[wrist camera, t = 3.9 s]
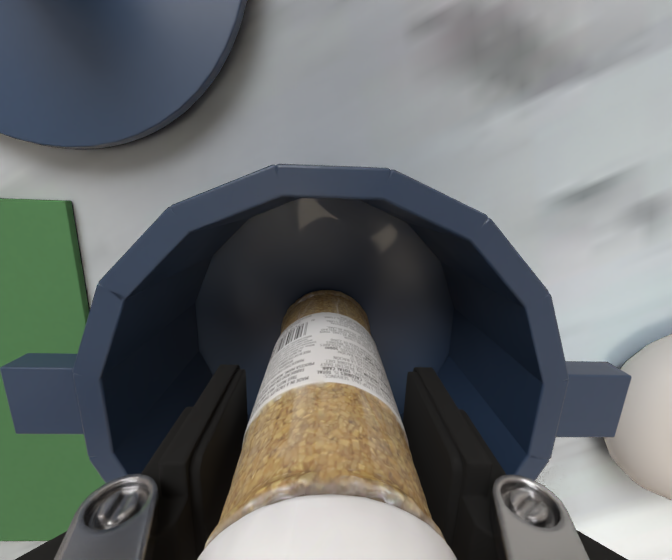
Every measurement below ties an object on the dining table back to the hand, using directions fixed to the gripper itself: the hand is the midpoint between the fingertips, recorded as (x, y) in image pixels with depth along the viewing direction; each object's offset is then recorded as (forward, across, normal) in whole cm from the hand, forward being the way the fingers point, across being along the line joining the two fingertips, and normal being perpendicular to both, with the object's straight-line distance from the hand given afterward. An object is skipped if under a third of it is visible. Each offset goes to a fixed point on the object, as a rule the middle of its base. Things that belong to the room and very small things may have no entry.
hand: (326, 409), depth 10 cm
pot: (+7, 0, 0) cm, 7 cm away
